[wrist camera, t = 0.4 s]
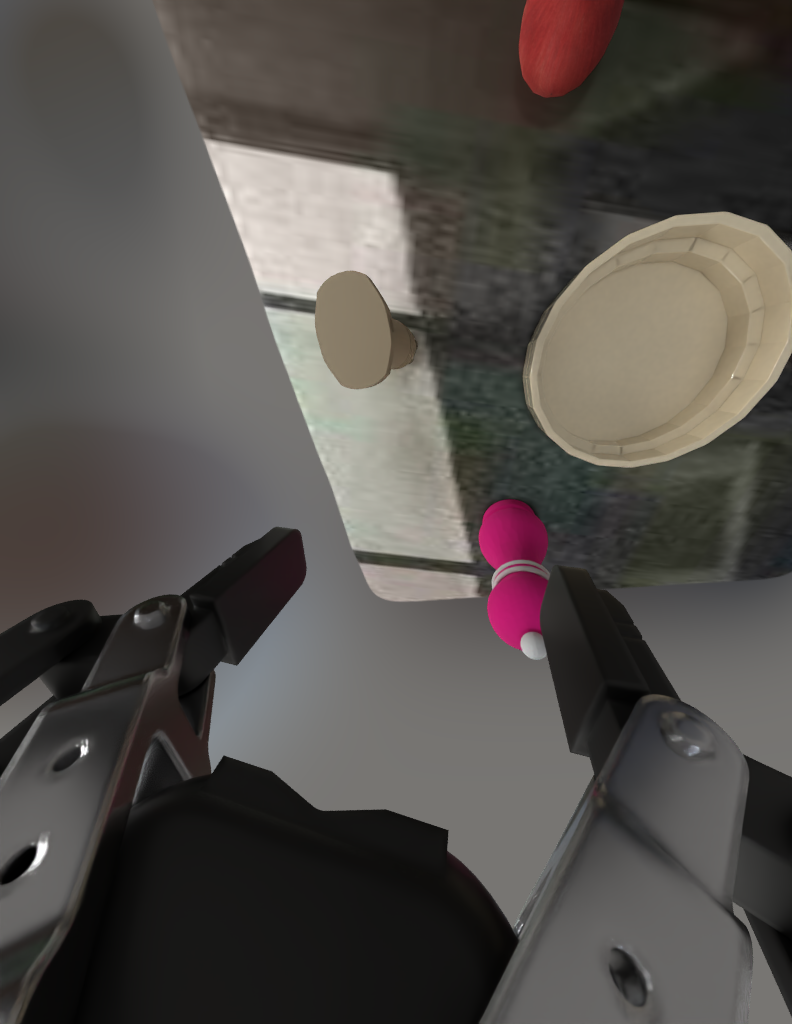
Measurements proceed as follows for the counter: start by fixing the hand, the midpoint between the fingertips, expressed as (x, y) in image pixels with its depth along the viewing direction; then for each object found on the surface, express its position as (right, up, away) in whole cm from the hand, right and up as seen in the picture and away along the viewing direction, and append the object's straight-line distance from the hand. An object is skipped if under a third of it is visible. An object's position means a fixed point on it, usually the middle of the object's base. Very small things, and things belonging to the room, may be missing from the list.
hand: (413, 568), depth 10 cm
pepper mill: (+14, +1, +28) cm, 31 cm away
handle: (0, +19, +23) cm, 30 cm away
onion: (+11, +34, +12) cm, 38 cm away
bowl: (+21, +16, +18) cm, 32 cm away
